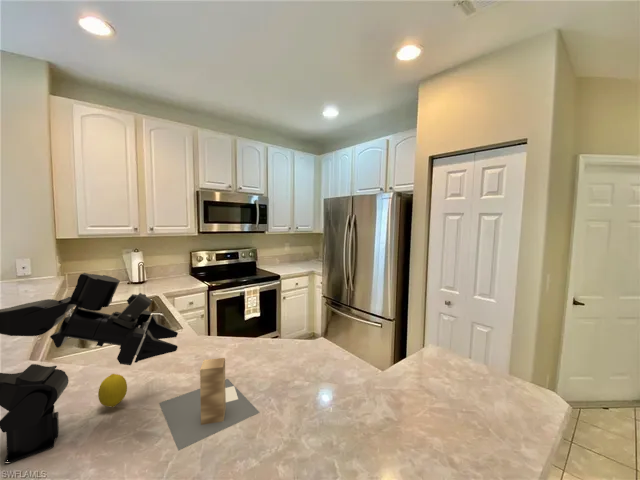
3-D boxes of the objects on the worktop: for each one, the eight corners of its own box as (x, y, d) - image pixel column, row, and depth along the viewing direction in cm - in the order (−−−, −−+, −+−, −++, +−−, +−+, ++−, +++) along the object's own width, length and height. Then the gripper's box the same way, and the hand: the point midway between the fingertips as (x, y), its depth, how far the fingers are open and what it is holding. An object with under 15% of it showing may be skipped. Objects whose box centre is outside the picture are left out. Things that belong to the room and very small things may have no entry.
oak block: (200, 424, 59) (200, 369, 59) (204, 411, 63) (203, 359, 63) (223, 421, 60) (222, 367, 60) (225, 408, 64) (225, 357, 64)
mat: (178, 453, 52) (178, 450, 52) (159, 405, 67) (159, 402, 67) (259, 414, 63) (259, 412, 63) (227, 380, 78) (227, 378, 78)
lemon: (93, 410, 65) (93, 376, 65) (120, 397, 70) (119, 366, 70) (106, 417, 62) (105, 382, 62) (132, 403, 67) (131, 371, 67)
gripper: (105, 300, 51) (191, 319, 58) (123, 283, 68) (189, 299, 75) (78, 359, 50) (170, 372, 56) (104, 328, 66) (172, 340, 73)
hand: (177, 341), depth 65 cm, fingers open, 9 cm apart
